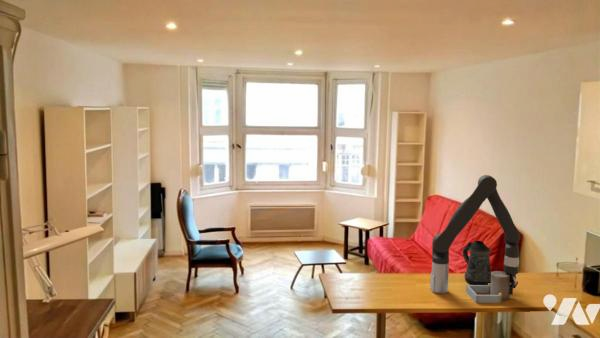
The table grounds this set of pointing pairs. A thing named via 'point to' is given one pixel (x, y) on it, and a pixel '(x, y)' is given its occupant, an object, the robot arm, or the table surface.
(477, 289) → the tray
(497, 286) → the pillar candle
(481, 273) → the beer stein
